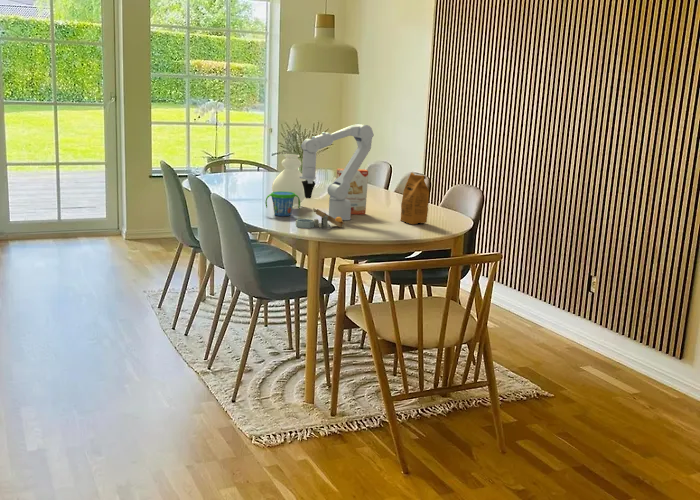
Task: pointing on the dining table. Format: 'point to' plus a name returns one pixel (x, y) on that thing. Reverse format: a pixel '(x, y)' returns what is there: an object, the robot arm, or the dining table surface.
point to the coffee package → (415, 200)
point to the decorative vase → (290, 179)
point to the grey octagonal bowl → (304, 223)
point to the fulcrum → (322, 222)
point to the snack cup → (282, 202)
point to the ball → (338, 219)
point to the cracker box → (357, 191)
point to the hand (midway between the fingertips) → (307, 197)
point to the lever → (328, 217)
